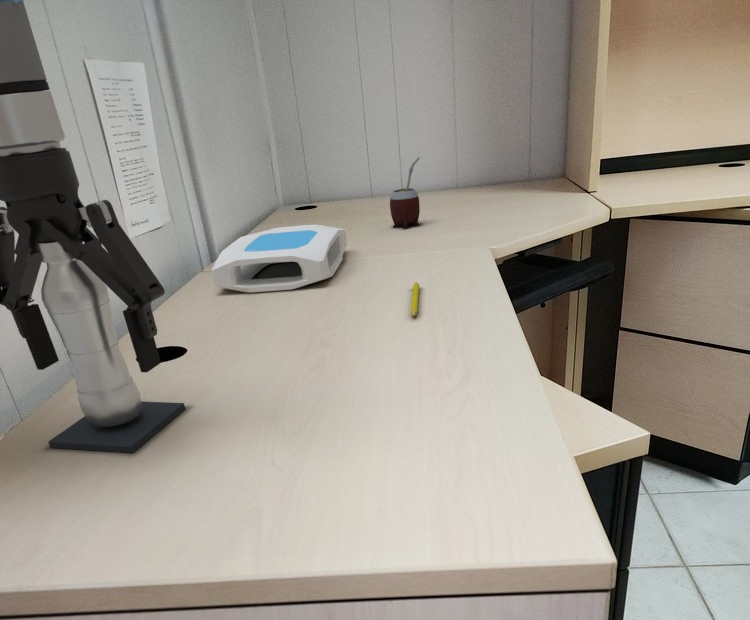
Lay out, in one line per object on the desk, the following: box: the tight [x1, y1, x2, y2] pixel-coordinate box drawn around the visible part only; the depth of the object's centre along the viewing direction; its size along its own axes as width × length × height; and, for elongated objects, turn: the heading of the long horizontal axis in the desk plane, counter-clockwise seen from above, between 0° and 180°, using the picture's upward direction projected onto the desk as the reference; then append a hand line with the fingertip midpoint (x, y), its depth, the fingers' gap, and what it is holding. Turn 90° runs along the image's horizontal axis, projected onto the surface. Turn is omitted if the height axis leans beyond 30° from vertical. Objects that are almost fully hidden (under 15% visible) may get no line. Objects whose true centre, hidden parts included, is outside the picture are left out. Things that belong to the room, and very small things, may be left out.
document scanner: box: [210, 224, 347, 293], centre depth 131 cm, size 21×28×6 cm
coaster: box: [47, 400, 186, 454], centre depth 76 cm, size 11×11×1 cm
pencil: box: [410, 282, 420, 317], centre depth 106 cm, size 16×1×1 cm, turn 175°
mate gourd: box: [389, 157, 421, 230], centre depth 156 cm, size 8×8×15 cm
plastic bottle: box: [37, 242, 142, 427], centre depth 71 cm, size 6×7×20 cm
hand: (98, 366), depth 73 cm, fingers open, 13 cm apart
